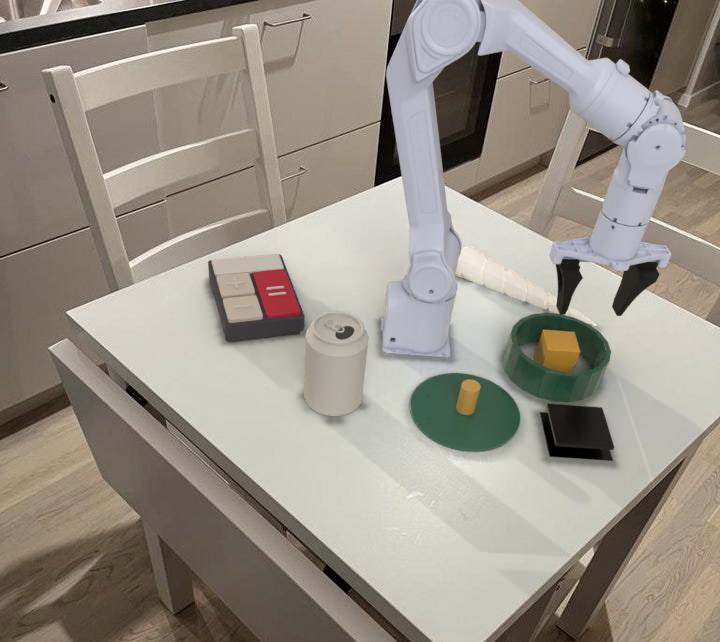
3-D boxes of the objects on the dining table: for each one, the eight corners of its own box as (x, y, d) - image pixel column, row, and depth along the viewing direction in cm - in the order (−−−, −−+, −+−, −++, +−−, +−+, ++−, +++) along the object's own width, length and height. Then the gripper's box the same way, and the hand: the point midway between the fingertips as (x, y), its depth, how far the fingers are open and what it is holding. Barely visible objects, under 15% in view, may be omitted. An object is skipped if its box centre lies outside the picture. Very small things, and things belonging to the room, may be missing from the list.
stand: (548, 459, 91) (553, 445, 89) (538, 415, 96) (543, 401, 94) (611, 463, 91) (618, 450, 89) (598, 419, 96) (604, 405, 94)
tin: (508, 401, 97) (517, 371, 93) (497, 338, 106) (505, 309, 102) (607, 408, 98) (620, 379, 94) (588, 345, 107) (599, 316, 103)
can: (341, 429, 91) (347, 353, 82) (292, 404, 93) (293, 328, 84) (372, 397, 96) (381, 321, 87) (324, 374, 98) (329, 298, 89)
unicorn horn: (586, 340, 108) (596, 313, 104) (448, 278, 116) (453, 251, 112) (598, 326, 110) (609, 298, 107) (463, 266, 118) (468, 239, 115)
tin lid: (410, 451, 90) (416, 421, 86) (407, 375, 99) (412, 345, 95) (525, 458, 90) (536, 429, 87) (511, 382, 100) (520, 353, 96)
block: (538, 378, 100) (547, 349, 96) (533, 358, 103) (542, 329, 99) (569, 380, 100) (580, 352, 97) (564, 360, 103) (574, 331, 100)
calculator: (225, 321, 98) (206, 255, 106) (226, 346, 101) (208, 280, 110) (305, 312, 100) (281, 248, 109) (304, 336, 104) (280, 273, 112)
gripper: (574, 229, 82) (542, 328, 93) (696, 234, 84) (651, 330, 94) (559, 198, 87) (529, 295, 97) (674, 203, 89) (634, 298, 99)
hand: (588, 310), depth 96 cm, fingers open, 7 cm apart
